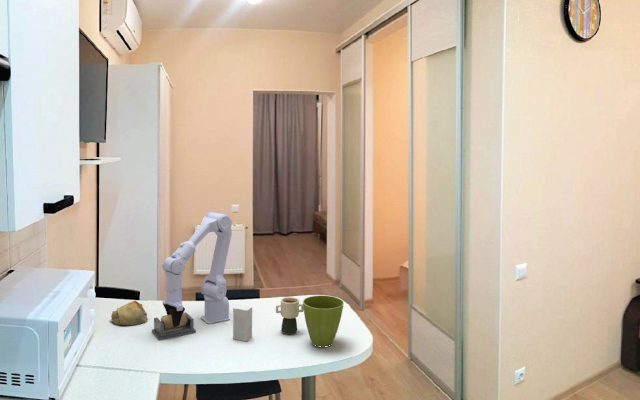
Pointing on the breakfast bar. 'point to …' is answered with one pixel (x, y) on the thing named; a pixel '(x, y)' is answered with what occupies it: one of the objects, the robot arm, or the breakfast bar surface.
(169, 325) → the cylinder
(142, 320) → the pastry
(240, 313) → the skincare box
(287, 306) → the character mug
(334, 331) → the flower pot
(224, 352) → the breakfast bar surface
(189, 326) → the holder
